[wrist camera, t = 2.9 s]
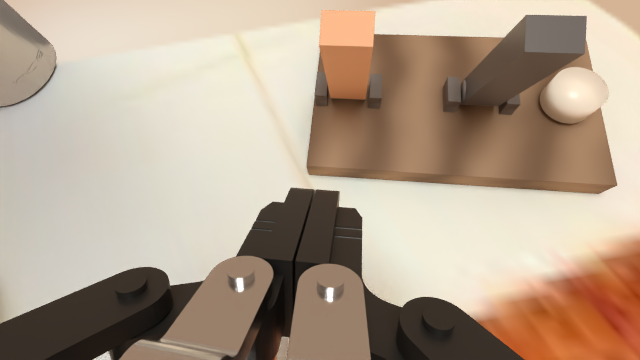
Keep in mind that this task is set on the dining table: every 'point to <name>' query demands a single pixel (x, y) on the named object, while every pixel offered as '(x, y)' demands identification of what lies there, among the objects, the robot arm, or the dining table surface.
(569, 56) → the long grey beam
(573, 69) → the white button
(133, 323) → the robot arm
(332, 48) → the orange block
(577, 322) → the dining table surface
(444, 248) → the dining table surface
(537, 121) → the switch board
